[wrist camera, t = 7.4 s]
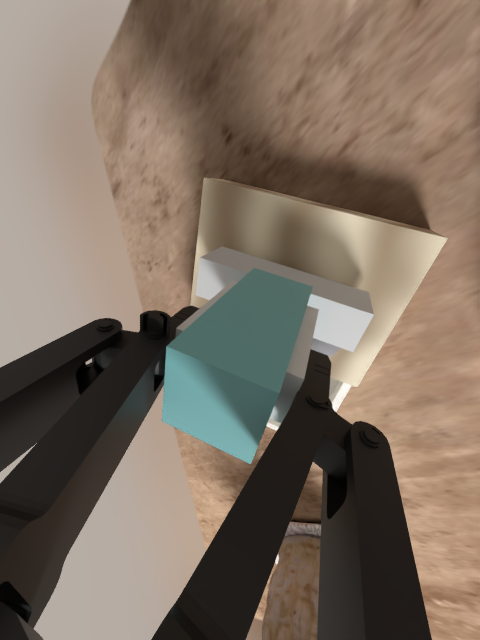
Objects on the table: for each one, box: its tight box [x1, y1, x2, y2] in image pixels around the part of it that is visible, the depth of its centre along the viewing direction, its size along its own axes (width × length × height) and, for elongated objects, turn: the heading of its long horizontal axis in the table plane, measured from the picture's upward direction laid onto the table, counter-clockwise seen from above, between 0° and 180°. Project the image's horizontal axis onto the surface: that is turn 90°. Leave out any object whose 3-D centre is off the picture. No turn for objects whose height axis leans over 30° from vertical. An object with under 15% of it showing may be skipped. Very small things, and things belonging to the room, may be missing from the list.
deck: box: [190, 178, 448, 387], centre depth 24 cm, size 18×14×4 cm
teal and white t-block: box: [162, 246, 374, 464], centre depth 15 cm, size 12×4×14 cm, turn 78°
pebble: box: [311, 338, 340, 357], centre depth 21 cm, size 3×3×3 cm
